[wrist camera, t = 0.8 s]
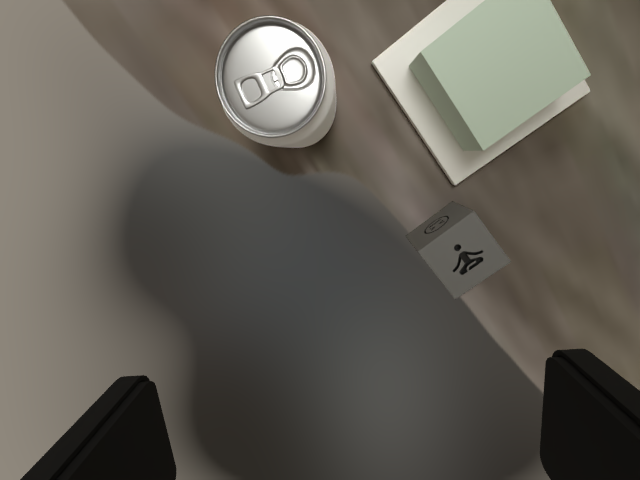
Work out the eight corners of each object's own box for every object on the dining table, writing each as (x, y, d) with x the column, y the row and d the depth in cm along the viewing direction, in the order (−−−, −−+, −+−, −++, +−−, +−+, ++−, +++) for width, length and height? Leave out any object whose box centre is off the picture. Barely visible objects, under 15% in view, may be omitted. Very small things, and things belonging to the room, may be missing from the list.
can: (347, 129, 29) (354, 115, 17) (278, 160, 30) (240, 166, 18) (318, 51, 28) (303, -21, 16) (246, 86, 28) (182, 41, 17)
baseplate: (506, -47, 25) (511, -53, 24) (583, 92, 27) (590, 91, 27) (371, 63, 28) (372, 61, 27) (452, 184, 30) (455, 185, 29)
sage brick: (500, -8, 25) (530, -37, 21) (554, 85, 27) (590, 74, 23) (408, 65, 27) (420, 51, 23) (463, 150, 28) (483, 150, 24)
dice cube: (437, 276, 32) (455, 299, 27) (405, 235, 31) (417, 251, 26) (484, 244, 31) (511, 261, 26) (452, 201, 30) (474, 210, 25)
